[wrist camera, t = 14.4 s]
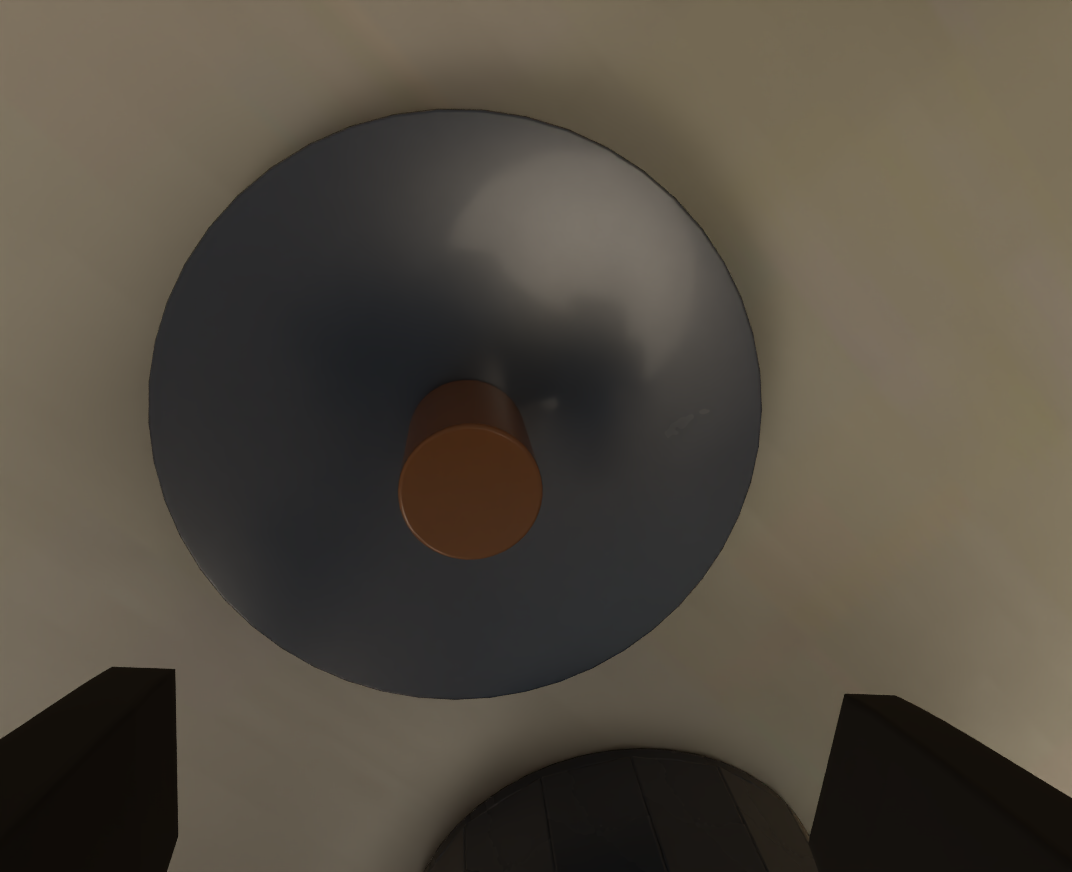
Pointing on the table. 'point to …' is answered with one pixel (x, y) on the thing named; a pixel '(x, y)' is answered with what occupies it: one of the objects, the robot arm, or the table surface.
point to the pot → (630, 820)
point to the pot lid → (454, 404)
